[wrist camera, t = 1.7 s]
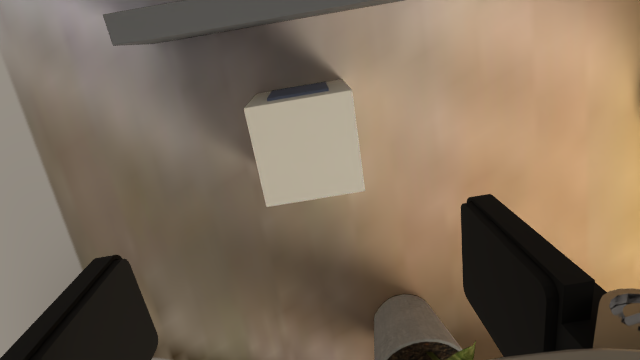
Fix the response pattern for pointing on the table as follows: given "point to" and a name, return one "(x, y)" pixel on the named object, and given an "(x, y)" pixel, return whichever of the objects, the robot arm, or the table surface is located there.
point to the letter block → (305, 142)
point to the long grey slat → (214, 17)
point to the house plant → (414, 332)
